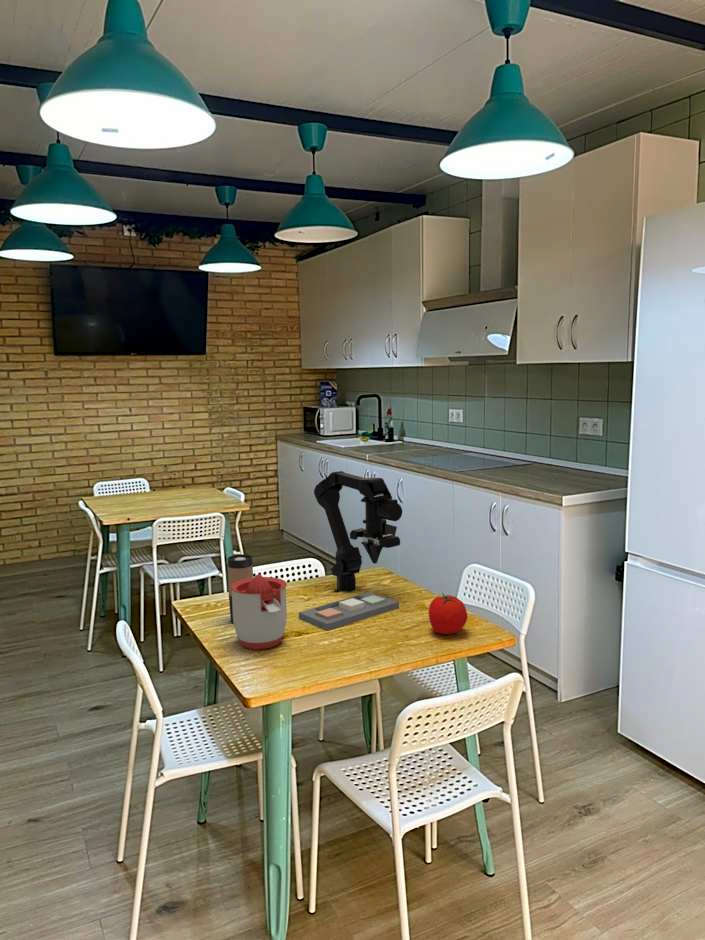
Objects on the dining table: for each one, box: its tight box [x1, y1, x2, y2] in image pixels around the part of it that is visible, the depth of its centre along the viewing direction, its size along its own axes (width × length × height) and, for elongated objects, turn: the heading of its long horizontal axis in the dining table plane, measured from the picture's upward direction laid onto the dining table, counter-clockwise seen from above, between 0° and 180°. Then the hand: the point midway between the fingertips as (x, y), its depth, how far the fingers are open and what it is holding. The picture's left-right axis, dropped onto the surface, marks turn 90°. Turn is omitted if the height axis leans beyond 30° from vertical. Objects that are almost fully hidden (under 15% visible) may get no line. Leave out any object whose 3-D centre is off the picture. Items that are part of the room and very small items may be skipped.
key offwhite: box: [339, 598, 364, 613], centre depth 219 cm, size 6×6×2 cm
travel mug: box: [227, 553, 254, 625], centre depth 217 cm, size 8×8×20 cm
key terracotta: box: [316, 608, 342, 620], centre depth 213 cm, size 6×6×2 cm
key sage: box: [361, 595, 386, 606], centre depth 225 cm, size 6×6×2 cm
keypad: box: [298, 591, 400, 632], centre depth 220 cm, size 14×29×3 cm, turn 131°
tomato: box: [428, 592, 468, 635], centre depth 205 cm, size 12×12×11 cm
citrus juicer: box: [231, 573, 288, 651], centre depth 198 cm, size 16×17×20 cm
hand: (374, 563), depth 232 cm, fingers closed
